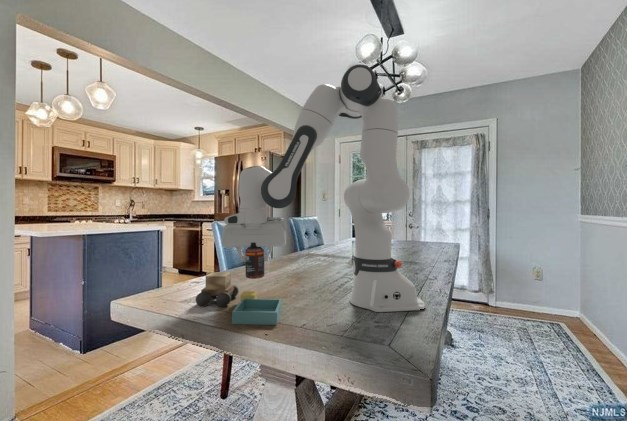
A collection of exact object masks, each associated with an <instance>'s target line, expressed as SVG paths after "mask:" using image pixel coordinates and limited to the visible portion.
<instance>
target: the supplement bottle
mask: <svg viewBox="0 0 627 421" xmlns="http://www.w3.org/2000/svg"><path fill="white" fill-rule="evenodd" d="M244 255H245V261H244V263H245V264H244V265H245V277H246V278H247V279H251V280H254V279H255V280H256V279H261V278H263V277H265V261H264V255H265V250H264V247H257V246H256V243H255V242H254V243H253V242H252V243H251V247H246V249H245V252H244Z"/></svg>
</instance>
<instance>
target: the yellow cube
mask: <svg viewBox="0 0 627 421" xmlns="http://www.w3.org/2000/svg"><path fill="white" fill-rule="evenodd" d="M242 299H258V291H246V290H245V291H244V290H243V291H242V293H241V294H240V301H241V300H242Z"/></svg>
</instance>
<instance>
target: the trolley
mask: <svg viewBox="0 0 627 421" xmlns="http://www.w3.org/2000/svg"><path fill="white" fill-rule="evenodd" d="M231 274H232V273H231V272H224V271H223V272H218V271H217V272H213V271H212V272H210V273H209V274H207V275H206V276H205V287H204V288H202V289H201V290H200V291H201V292H200V293H198V294H197V295H196V296H195V303H196V305H197V306H199V307H206V306H207V305H208V304H210V303H211V301H212V299H213V298H214V299H215V303H216V304H217V306H219V307H220V308H225V307H228V305H229V304H230V303H231V302H232V299H233V298H236V296H237V295H238V294H239V291H240V290H239V287H238V286H237V285H235V284H232V283H231V282H232V280H231V278H232V276H231Z"/></svg>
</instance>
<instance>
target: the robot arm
mask: <svg viewBox="0 0 627 421" xmlns="http://www.w3.org/2000/svg"><path fill="white" fill-rule="evenodd" d="M382 91H383V90H382V88H381V86H380V84H379V82H378V79H377V76H376V73H375V72H374V71H373V69H372V68H371V67H370V66H368V65H366V64H355V65H352V66H350V67H349V68H348V69H347V70H346V71H345V72H344V75H343V76H342V78H341V82H340V85H339V86H334V85H330V84H325V83H322V84H319V85H317V86H316V87H315V88H314V90H313V91H312V92H311V94H310V95H309V97H308V98H307V99H306V102H305V103H304V105H303V106H302V108H301V111H300V113H299V115H298V117H297V119H296V123H295V125H294V129H293V130H294V131H293V135H292V138H291V142H290V143H289V146H288V148H287V150H286V151H285V153H284V155H283V157H282V159H281V161H280V163H279V165H278V166H277V167H276V169H275V170H273V172H272V171H271V170H269V169H267V168H266V167H264V166H262V165H253V166H249V167H246V168H243V169H242V171H241V172H240V174H239V178H238V179H239V180H238V181H239V182H238V195H239V199H240V204H239V210H238V211H239V212H238V213H234V214H231V215H229V216H226V217H225V218H224V219H223V220H224V222H223V223H224V224H225V225H224V226H223V227H222V231H221V246H222V247H223V248H224V249H225V248H226V249H227V248H229V249H230V248H236V252H237V253H238V255H239V256H240V262H242V263H243V262H245V254H244V252H243V248H248V247H251V243H252V242H253V243H254V242H255V243H256V246H257V247H261V248H266V251H267V253H266V254H264V262H268V261H270V255H271V252H272V251H273V247H284V246H286V244H287V233H286V231H287V228H288V223H287V220H286V219H284V218H282V216H278V217H276V216H275V217H272V216H270V217H269V209H268V207H271V208H272V209H273V208H274V209H284V208H286V207H288V206H290V205H291V204H292V203H293V202H294V200H295V198H296V196H297V182H298V178H299V176H300V173H301V171H302V169H303V167H304V166H305V163H306V161H307V159H308V157H309V155H310V154H311V153H312V152H313V150H314V149H316V148H317V147H319V146H320V145H322V144H323V142H324V141H325V140H326V138H327V137H328V135H329V133H330V132H331V129H332V128H333V126H334V123H335V121H336V119H337V117H342V118H348V119H352V120H359V119H362V130H361V131H362V132H361V138H360V139H361V142H360V151H359V158H360V161H362V163H363V164H364V167H365V171H366V178H364V179H358V180H356V181H353V182H352V183H350V184H349V185H347V186H346V188H345V189H344V192H343V201H344V203H345V205H346V206H347V207H348V209H349V212H350V213H351V214H350V215H351V219H352V222H353V227H354V236H355V237H354V238H355V240H354V241H355V242H354V243H355V244H354V245H355V246H354V247H355V250H354V251H355V255H354V257H353V261H352V263H353V270H352V271H353V274H354V277H353V285H352V289H351V293H350V298H349V303H350V304H352V305H353V306H355V307H359V308H363V309H367V310H370V311H373V312H376V313H385V312H387V313H389V312H390V313H391V312H404V311H406V312H407V311H408V312H409V311H421V310H420V309H424V308H426V305H425V302H424V301H423V300H422V299H421V298H420V297H418V292H417V289H416V287H415V285H414V283H413V282H412V281H411V280H409V279H408V278H407V277H406V276H405V275H403V273H401V272H400V271H399V270H398V269H400V268H402V267H403V262H401V261H400V260H398V259H397V260H396V259H395V258H393V257H392V232H391V230H390V229H389V228H388V226H387V225H386V223H385V219H384V218H383V214H390V213H395V212H398V211H400V210H402V209H404V207H406V206H407V205H408V202H409V199H410V188H409V186H408V184H407V182H406V181H405V180H404V179H403V178H402V177H401V175H400V172H399V169H398V164H397V163H398V162H397V151H398V150H397V147H398V135H399V134H398V133H399V114H398V113H399V112H398V106H397V105H396V104H397V103H396V102H395V101H393V100H391V99H390V98H387V97H386V98H385V97H381V95H382ZM424 310H425V309H424Z"/></svg>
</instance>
